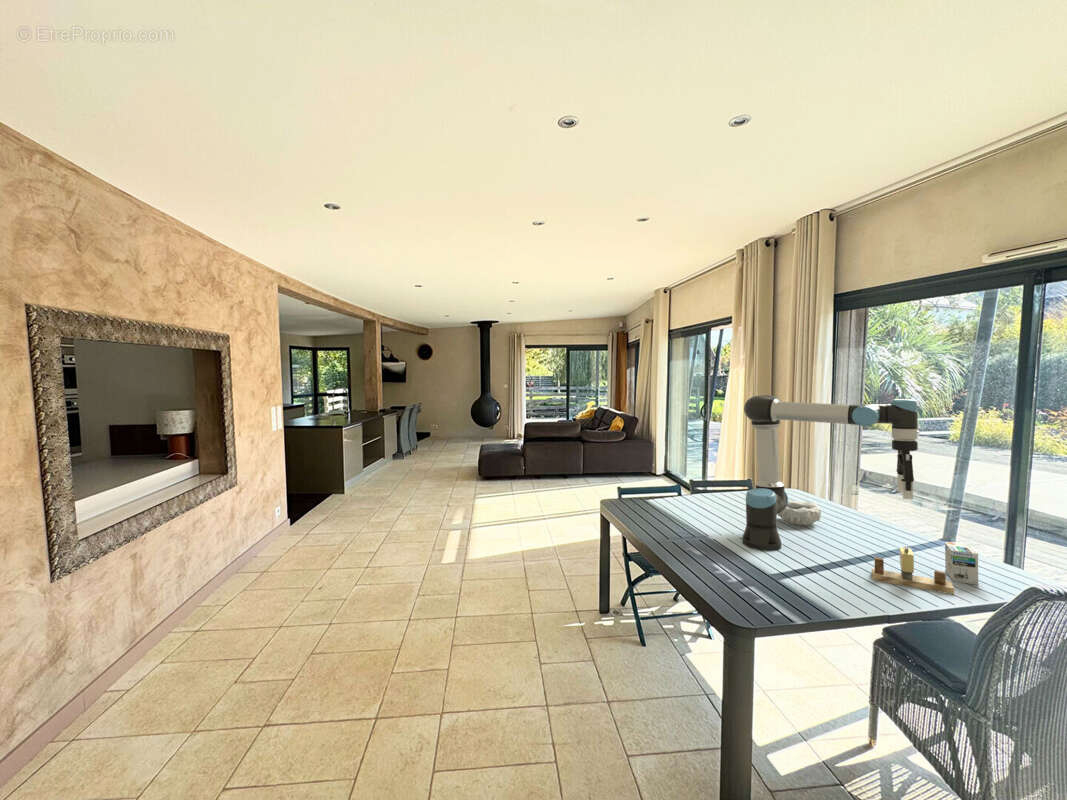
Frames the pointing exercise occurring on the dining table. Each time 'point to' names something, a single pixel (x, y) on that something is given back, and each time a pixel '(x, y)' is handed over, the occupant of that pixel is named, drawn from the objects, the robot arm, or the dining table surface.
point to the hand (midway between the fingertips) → (904, 495)
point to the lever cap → (906, 560)
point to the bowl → (801, 513)
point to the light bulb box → (961, 563)
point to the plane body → (911, 578)
